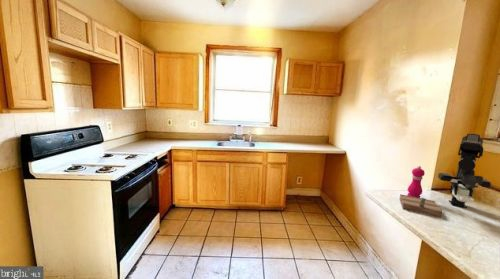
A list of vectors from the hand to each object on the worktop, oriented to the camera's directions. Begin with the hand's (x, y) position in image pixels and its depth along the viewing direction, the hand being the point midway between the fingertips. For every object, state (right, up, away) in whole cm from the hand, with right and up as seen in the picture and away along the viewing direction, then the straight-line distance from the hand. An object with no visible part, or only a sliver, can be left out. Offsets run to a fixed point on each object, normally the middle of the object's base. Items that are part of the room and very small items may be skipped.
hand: (459, 195), depth 111 cm
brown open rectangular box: (-15, -9, +8) cm, 19 cm away
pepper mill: (-8, -7, +20) cm, 23 cm away
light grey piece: (-1, -2, -2) cm, 3 cm away
